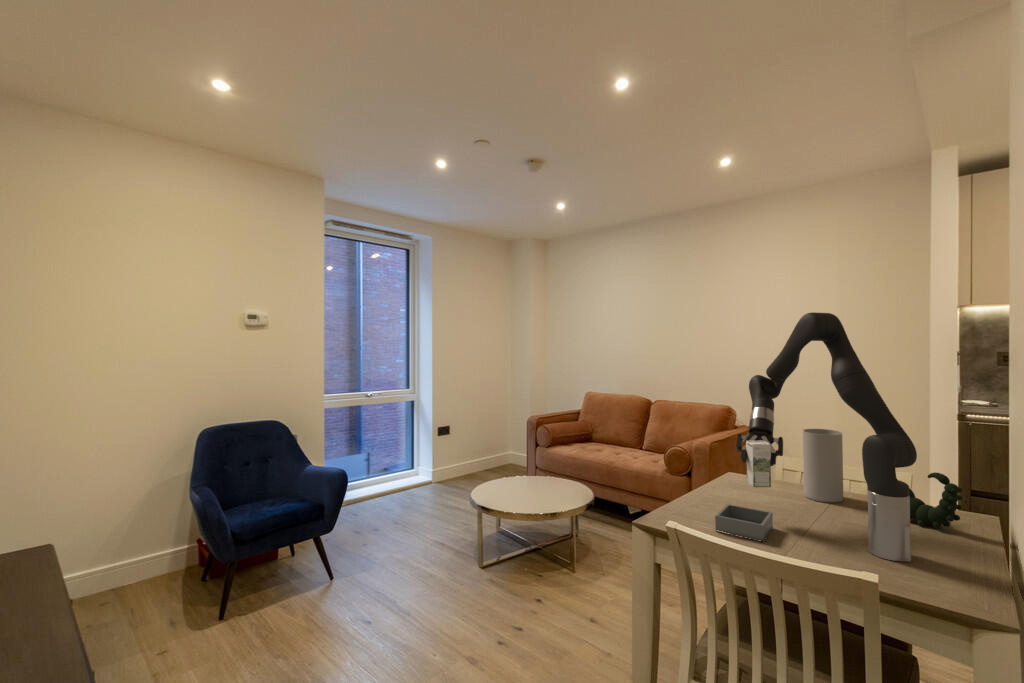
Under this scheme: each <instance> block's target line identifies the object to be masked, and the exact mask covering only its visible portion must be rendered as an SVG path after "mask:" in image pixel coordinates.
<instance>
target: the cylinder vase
mask: <svg viewBox="0 0 1024 683" xmlns="http://www.w3.org/2000/svg"><path fill="white" fill-rule="evenodd" d="M843 448H844V447H843V432H842V431H840V430H839V431H838V430H834V429H833V430H832V429H827V428H806V429H805V428H804V429H802V454H803V455H802V458H803V459H802V461H803V464H802V466H803V472H802V473H803V495H804V496H805V497H806V498H807V499H809V498H810V499H809V500H813V501H815V500H816V502H820V503H821V502H822V503H830V504H833V503H834V504H835V503H841V502H842V501H844V463H843V462H844V459H843V457H844V455H843V454H844V453H843Z"/></svg>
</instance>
